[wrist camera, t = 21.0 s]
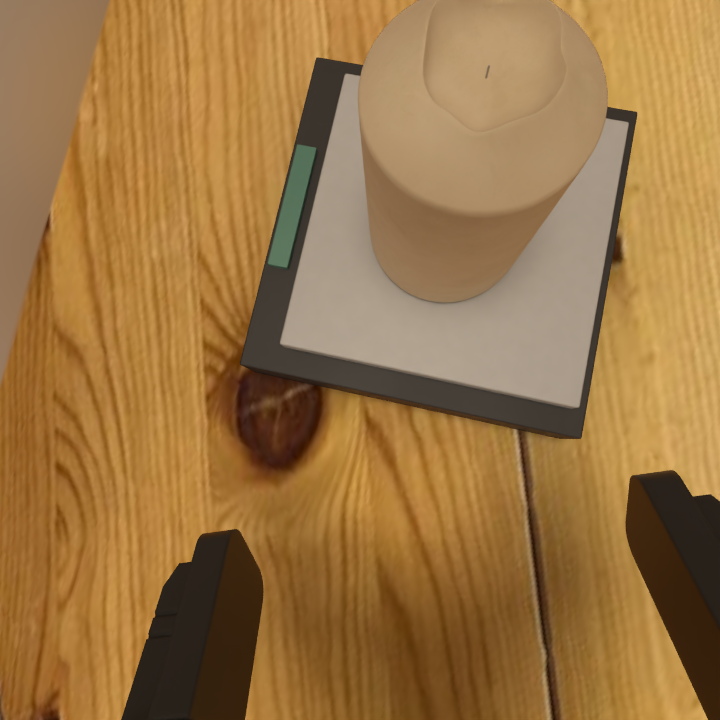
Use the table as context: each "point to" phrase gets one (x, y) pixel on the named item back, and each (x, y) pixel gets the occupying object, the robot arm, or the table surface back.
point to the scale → (427, 318)
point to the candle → (473, 136)
